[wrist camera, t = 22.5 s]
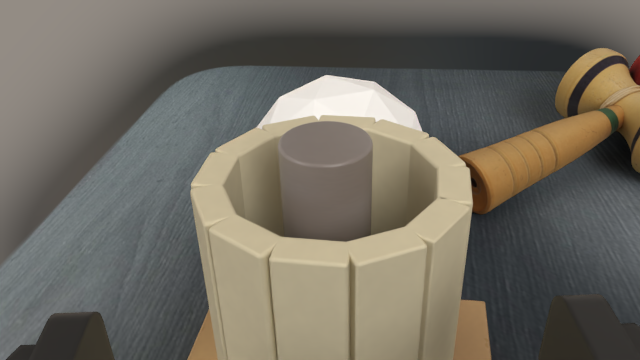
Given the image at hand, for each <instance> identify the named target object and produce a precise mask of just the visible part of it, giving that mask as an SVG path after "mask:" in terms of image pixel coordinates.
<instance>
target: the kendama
mask: <svg viewBox="0 0 640 360" xmlns="http://www.w3.org/2000/svg"><path fill="white" fill-rule="evenodd" d="M555 107H556V109H557V112H558V113H560V114H561V115H562V116H563V117H565V119H562V120H558V121H556V122H553V123H550V124H547V125H544V126H541V127H539V128H536V129H533V130H531V131H529V132H525V133H522V134H520V135H517V136H515V137H512V138H509V139H507V140H504V141H501V142H499V143H496V144H493V145H490V146H488V147H485V148H482V149H479V150H475V151H472V152H469V153H466V154H463V155H460V156H458V157H459V158H460V159H462V160H463V161H464V162H465V164H466V167H468V168H469V169H470V177H471V188H472V199H473V207H472V212H474V213H477V214H485V213H487V212H489V211H491V210H492V209H494V208H495V207H497V206H498V205H500V204H502V203H503V202H505V201H506V200H508V199H509V198H510V197H513V196H515V195H516V194H518V193H519V192H521V191H522V190H524V189H526V188H528V187H530V186H531V185H533V184H535V183H536V182H537V181H540V180H541V179H543V178H545V177H547V176H548V175H550V174H551V173H553V172H555V171H557V170H559V169H561V168H562V167H564V166H566V165H567V164H569V163H571V162H572V161H574V160H576V159H577V158H579V157H580V156H582V155H583V154H585V153H586V152H588V151H589V150H590V149H592V148H593V147H595V146H596V145H597V144H599V143H600V142H602V141H603V140H604V139H606V138H607V137H608V136H610V135H611V134H612V133H614V132H615V131H617V132H620V133H621V134H622V135H623V136H624V138H625V139H626V141H627V143H628V145H629V147H630V150H631V163H632V166H633V168H634V170H635V171H637V172H638V173H640V56H639V57H638V58H637V59H636V60H635V61H634V63H633V64H632V66H631V68H630V69H629V66H628V62H627V60H626V58H625V57H624V56H623V55H621V54H620V53H617V52H615V51H613V50H610V49H607V48H599V49H595V50H593V51H590V52H588V53H586V54H585V55H583V56H582V57H581V58H580V59H578V60H577V61H576V62H575V63H574V64H573V65H572V66H571V67H570V69H569V70H568V71H567V72H566V74H565V75H564V77H563V79H562V80H561V82H560V84H559V86H558V89H557V93H556V98H555Z"/></svg>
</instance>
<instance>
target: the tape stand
mask: <svg viewBox="0 0 640 360" xmlns="http://www.w3.org/2000/svg"><path fill="white" fill-rule="evenodd" d="M278 157H279V171H280V185H281V199H282V213H283V228H284V237H292V238H305V239H317V240H330V241H343V242H347V241H351V240H355V239H359V238H363V237H367V236H370V235H371V208H372V164H373V142H372V139H371V137H370V136H369V134H368V133H367V132H366V131H364V130H363V129H361V128H359V127H357V126H354V125H351V124H348V123H343V122H335V121H320V122H312V123H307V124H303V125H299V126H297V127H294V128H292V129H290V130H289V131H287V132H286V133H285V134H283V136H282V137H281V138H280V140H279V143H278ZM187 360H218V358H217V352H216V346H215V340H214V334H213V328H212V322H211V315H210V309H209V310H208V313H207V315H206V317H205V320H204V322H203V324H202V327H201V329H200V331H199V334H198V336H197V338H196V341H195V343H194V345H193V348H192V350H191V352H190V355H189V357H188V359H187ZM453 360H491V351H490V342H489V333H488V324H487V315H486V306H485V302H483V301H473V300H460V308H459V316H458V324H457V332H456V339H455V347H454V355H453Z"/></svg>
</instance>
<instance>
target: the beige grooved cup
mask: <svg viewBox="0 0 640 360" xmlns="http://www.w3.org/2000/svg"><path fill="white" fill-rule="evenodd" d="M320 121H335V122H343V123H348V124H351V125H354V126H357V127H359V128H361V129H363V130H364V131H366V132H367V133H368V134H369V136H370V137H371V139H372V142H373V164H372V208H371V235H370V236H367V237H363V238H359V239H355V240H351V241H347V242H343V241H330V240H317V239H305V238H292V237H284V228H283V213H282V199H281V185H280V171H279V157H278V143H279V140H280V138H281V137H282V136H283V134H285V133H286V132H287V131H289V130H290V129H292V128H294V127H297V126H299V125H303V124H307V123H312V122H320ZM190 194H191V200H192V206H193V212H194V218H195V224H196V230H197V237H198V243H199V249H200V255H201V261H202V267H203V273H204V279H205V285H206V291H207V297H208V303H209V309H210V315H211V322H212V328H213V334H214V340H215V346H216V352H217V358H218V360H453V355H454V347H455V339H456V332H457V324H458V316H459V308H460V300H461V293H462V285H463V277H464V269H465V261H466V254H467V246H468V238H469V230H470V222H471V215H472V207H473V199H472V188H471V177H470V169H469V168H468V167H466V164H465V162H464V161H463V160H462V159H460V158H459V157H458V156H457V155H456V154H454V153H453V152H452V151H451V150H450V149H449V148H447V147H446V146H445V145H444V144H443V143H441V142H440V141H439V140H438V139H437V138H435V137H431V138H429V134H428V133H425V132H422V131H419V130H415V129H412V128H409V127H406V126H403V125H400V124H396V123H393V122H390V121H387V120H384V119H382V120H379V121H377V122H376V120H375V118H374V117H354V116H333V115H321V116H320V119H319V120H318V119H317V118H316V117H315V116H308V117H303V118H298V119H293V120H287V121H282V122H277V123H272V124H266V125H263V126H262V129H260V128H254V129H252V130H250V131H248V132H247V133H245V134H243V135H241V136H239V137H237V138H235V139H233V140H231V141H229V142H228V143H226V144H224V145H222V146H220V147H218V148H216V150H215V153H214V152H212V153H210V154H209V156H208V158H207V159H206V161H205V162H204V164H203V166H202V167H201V169H200V170H199V172H198V173H197V175H196V177H195V178H194V180H193V181H192V183H191V193H190Z"/></svg>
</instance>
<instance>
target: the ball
mask: <svg viewBox="0 0 640 360" xmlns="http://www.w3.org/2000/svg"><path fill="white" fill-rule="evenodd" d="M321 115H333V116H354V117H374V118H375V120H376V122H377V121H379V120H382V119H384V120H387V121H390V122H393V123H396V124H400V125H403V126H406V127H409V128H412V129H415V130H419V131H422V129H421V127H420V124H419V121H418V118H417V116H416V113H415V111H413V110H412V109H411V108H409V107H408V106H407V105H405V104H404V103H403V102H401V101H400V100H398V99H397V98H396V97H394V96H393V95H392V94H390V93H389V92H388V91H386V90H385V89H384V88H382V87H381V86H380V85H378V84H377V83H376V82H372V81H365V80H358V79H351V78H344V77H337V76H330V75H325V76H323V77H321V78H319V79H317V80H315V81H312V82H310V83H308V84H306V85H304V86H302V87H300V88H298V89H296V90H293V91H291V92H289V93H287V94H285V95H283V96H281V97H279V98H278V100H277V101H276V102H275V104H274V105H273V106H272V108H271V109H270V110H269V112H268V113H267V114H266V116H265V117H264V118H263V120H262V121H261V122H260V124H259V125H258V126H257V128H260V129H262V126H263V125H266V124H272V123H277V122H282V121H287V120H293V119H298V118H303V117H308V116H315V117H316V118H317V119H318V120H319V119H320V116H321Z"/></svg>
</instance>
